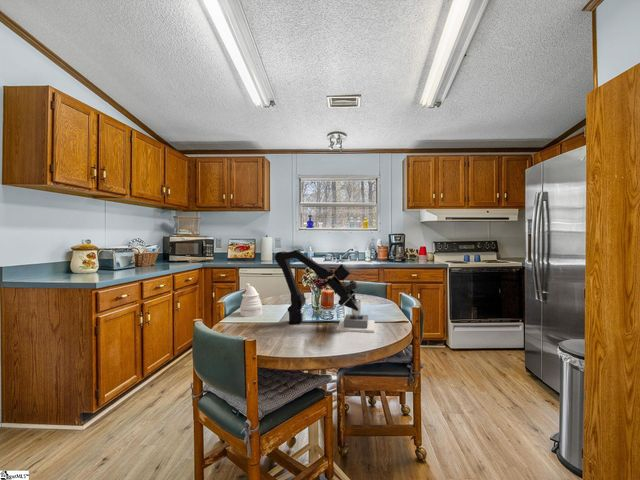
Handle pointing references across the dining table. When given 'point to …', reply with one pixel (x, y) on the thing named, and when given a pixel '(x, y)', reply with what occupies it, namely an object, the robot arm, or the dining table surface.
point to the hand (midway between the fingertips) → (358, 309)
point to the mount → (356, 324)
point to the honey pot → (250, 303)
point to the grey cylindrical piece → (356, 313)
